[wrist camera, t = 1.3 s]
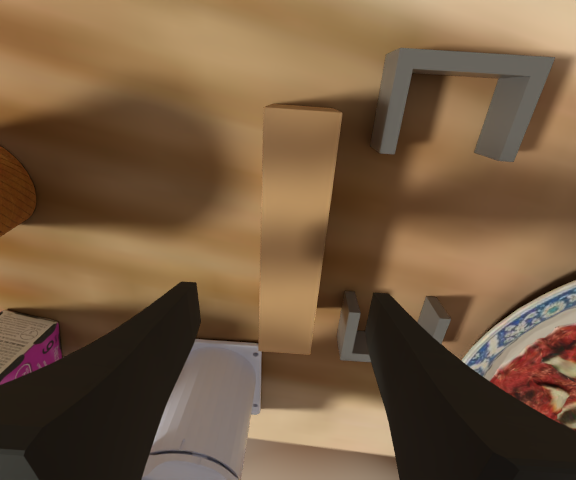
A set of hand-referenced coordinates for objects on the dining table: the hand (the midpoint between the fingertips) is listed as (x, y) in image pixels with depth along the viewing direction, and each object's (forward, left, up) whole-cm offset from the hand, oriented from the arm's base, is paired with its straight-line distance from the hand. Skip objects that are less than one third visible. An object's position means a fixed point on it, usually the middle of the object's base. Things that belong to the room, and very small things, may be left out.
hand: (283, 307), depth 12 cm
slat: (0, 0, -10) cm, 10 cm away
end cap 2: (+7, -8, -9) cm, 14 cm away
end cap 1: (-8, -8, -9) cm, 15 cm away
